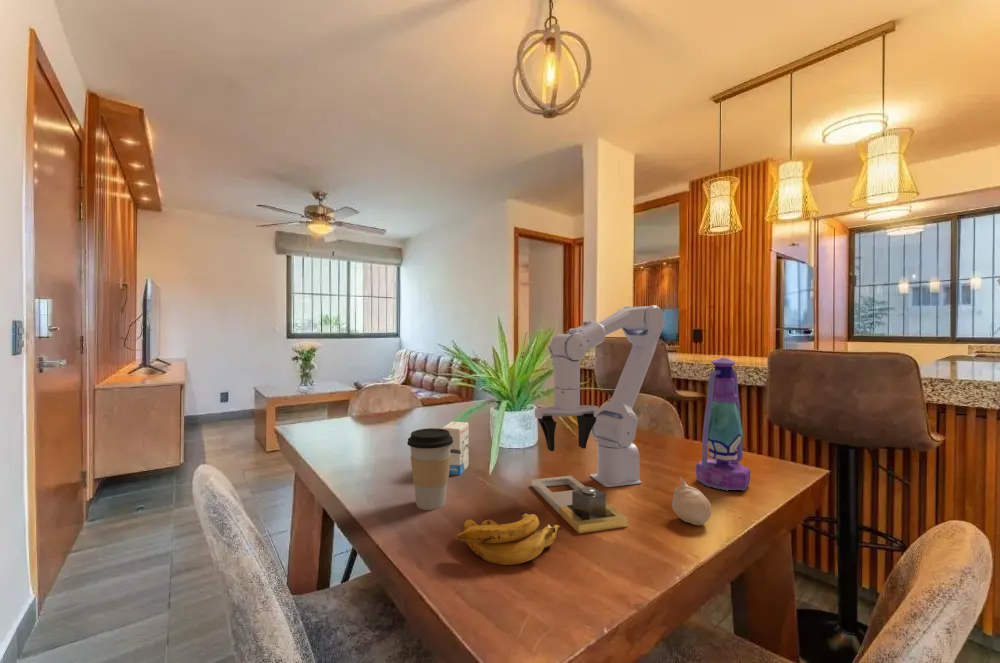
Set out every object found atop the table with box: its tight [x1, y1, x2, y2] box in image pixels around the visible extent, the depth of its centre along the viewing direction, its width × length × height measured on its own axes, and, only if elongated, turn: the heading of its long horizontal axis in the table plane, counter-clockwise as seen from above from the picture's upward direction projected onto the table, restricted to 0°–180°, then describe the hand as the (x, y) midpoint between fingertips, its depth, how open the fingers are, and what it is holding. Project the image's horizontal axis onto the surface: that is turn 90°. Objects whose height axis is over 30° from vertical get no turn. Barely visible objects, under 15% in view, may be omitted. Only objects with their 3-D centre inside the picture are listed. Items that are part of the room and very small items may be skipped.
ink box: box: [442, 421, 470, 476], centre depth 111 cm, size 9×5×12 cm, turn 168°
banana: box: [456, 511, 562, 566], centre depth 73 cm, size 15×19×6 cm
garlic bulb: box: [671, 475, 713, 526], centre depth 82 cm, size 7×6×8 cm
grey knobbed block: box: [572, 486, 607, 521], centre depth 84 cm, size 4×4×6 cm
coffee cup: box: [407, 427, 453, 511], centre depth 89 cm, size 9×9×15 cm
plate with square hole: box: [531, 475, 629, 535], centre depth 90 cm, size 10×24×2 cm, turn 16°
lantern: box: [695, 357, 751, 492], centre depth 102 cm, size 13×12×30 cm
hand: (566, 448), depth 96 cm, fingers open, 7 cm apart
